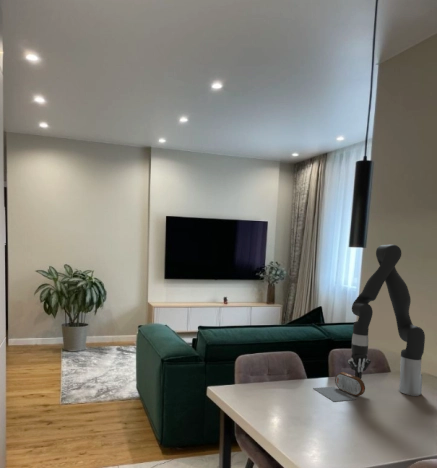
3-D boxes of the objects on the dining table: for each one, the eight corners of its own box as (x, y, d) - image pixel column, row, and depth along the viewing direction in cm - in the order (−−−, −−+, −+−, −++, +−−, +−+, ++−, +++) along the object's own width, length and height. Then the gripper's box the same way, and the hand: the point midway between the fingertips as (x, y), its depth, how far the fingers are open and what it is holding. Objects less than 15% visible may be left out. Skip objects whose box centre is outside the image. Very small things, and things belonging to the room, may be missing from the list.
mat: (333, 387, 186) (333, 386, 186) (355, 399, 171) (355, 399, 171) (313, 388, 182) (313, 388, 182) (333, 401, 167) (333, 401, 167)
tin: (364, 398, 175) (366, 379, 175) (360, 398, 173) (362, 380, 173) (337, 386, 187) (338, 369, 187) (333, 387, 185) (334, 370, 185)
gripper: (365, 341, 188) (363, 376, 188) (343, 341, 184) (341, 377, 183) (376, 345, 181) (374, 381, 181) (354, 345, 177) (352, 382, 176)
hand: (358, 379), depth 182 cm, fingers closed
